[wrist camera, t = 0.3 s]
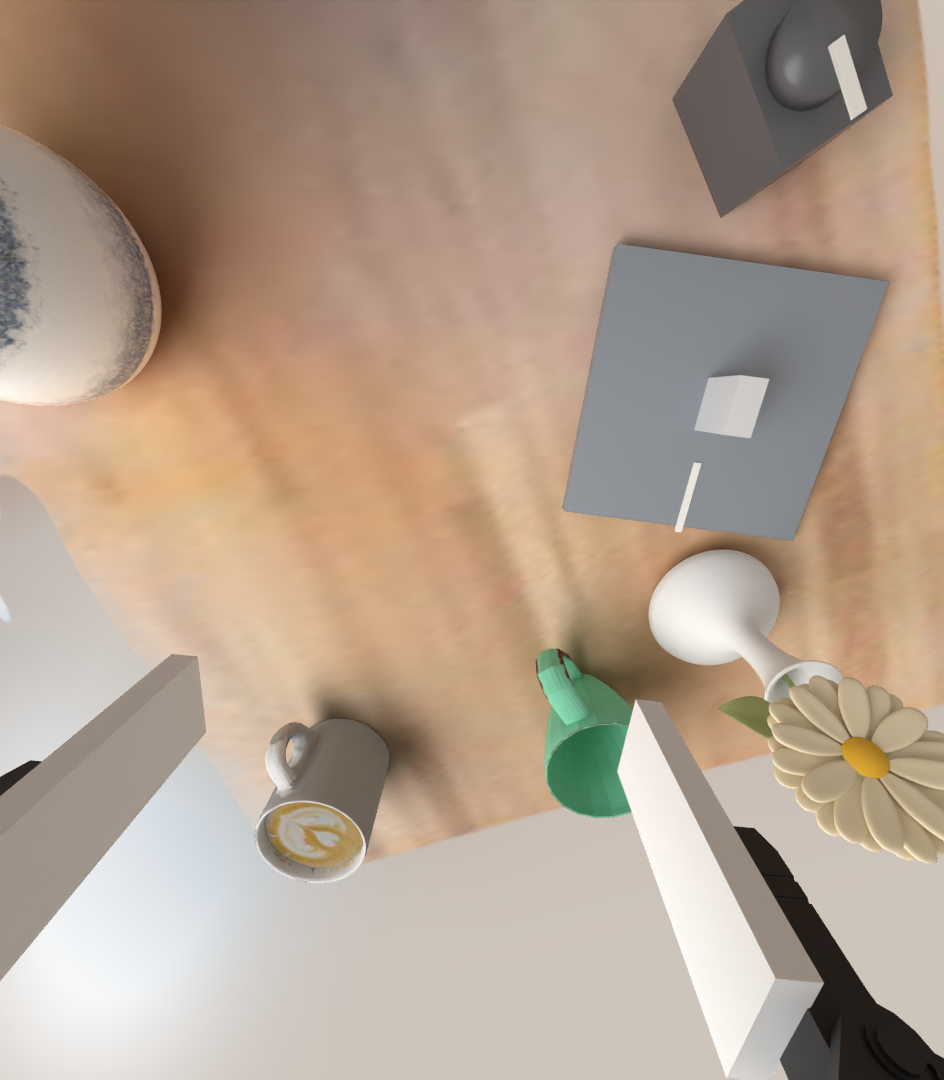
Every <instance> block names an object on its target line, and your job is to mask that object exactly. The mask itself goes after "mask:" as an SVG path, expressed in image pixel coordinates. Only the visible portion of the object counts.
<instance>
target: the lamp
mask: <svg viewBox="0 0 944 1080" xmlns="http://www.w3.org/2000/svg"><path fill="white" fill-rule="evenodd" d="M161 318H162V307H161V296H160V290H159V285H158V281H157V277H156V274H155V271H154V268H153V265H152V262H151V260H150V258H149V255H148V253H147V251H146V249H145V247H144V245H143V243H142V241H141V239H140V238H139V236H138V234H137V233H136V231H135V229H134V228H133V227H132V225H131V224H130V222H129V221H128V219H127V218H126V217H125V215H124V214H123V213H122V211H121V210H120V209H119V208H118V207H117V205H116V204H115V203H114V202H113V201H112V200H111V198H110V197H109V196H108V195H107V194H106V193H105V192H104V191H103V190H102V189H101V188H100V187H99V186H98V185H97V184H96V183H95V182H94V181H93V180H91V179H90V178H89V177H88V176H87V175H86V174H85V173H83V172H82V171H81V170H80V169H79V168H78V167H76V166H75V165H74V164H72V163H71V162H70V161H68V160H67V159H65V158H64V157H62V156H61V155H59V154H58V153H56V152H54V151H53V150H51V149H50V148H48V147H46V146H45V145H43V144H42V143H40V142H38V141H37V140H35V139H33V138H31V137H29V136H27V135H25V134H23V133H21V132H19V131H17V130H15V129H12V128H10V127H8V126H6V125H4V124H1V123H0V400H3V401H8V402H12V403H19V404H28V405H42V406H56V405H70V404H79V403H85V402H89V401H92V400H95V399H98V398H101V397H104V396H106V395H109V394H111V393H113V392H115V391H117V390H118V389H120V388H122V387H123V386H125V385H126V384H127V383H129V382H130V381H131V380H132V379H134V378H135V377H136V376H137V375H138V374H139V373H140V372H141V371H142V369H143V368H144V367H145V365H146V364H147V362H148V361H149V359H150V357H151V355H152V353H153V351H154V349H155V347H156V344H157V341H158V338H159V333H160V328H161Z"/></svg>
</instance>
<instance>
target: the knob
mask: <svg viewBox="0 0 944 1080" xmlns="http://www.w3.org/2000/svg"><path fill="white" fill-rule="evenodd" d="M881 25H882V7H881V2H880V0H744V1H743V2H742V3H740V4H739V5H738V6H736V7H735V8H734V9H732V10H731V11H730V12H729V13H727V14H726V16H725V17H724V19H723V20H722V22H721V23H720V25H719V27H718V28H717V30H716V31H715V33H714V35H713V36H712V38H711V39H710V41H709V42H708V44H707V46H706V47H705V49H704V50H703V52H702V53H701V55H700V57H699V58H698V60H697V61H696V63H695V64H694V66H693V68H692V69H691V71H690V72H689V74H688V75H687V77H686V79H685V80H684V82H683V83H682V85H681V87H680V88H679V90H678V91H677V93H676V94H675V96H674V98H673V102H674V104H675V106H676V109H677V111H678V114H679V116H680V119H681V121H682V124H683V126H684V129H685V131H686V133H687V136H688V138H689V141H690V143H691V146H692V148H693V151H694V153H695V156H696V158H697V161H698V163H699V165H700V168H701V170H702V173H703V175H704V178H705V180H706V183H707V185H708V188H709V190H710V192H711V195H712V197H713V200H714V202H715V205H716V207H717V210H718V212H719V215H720V217H722V216H724V215H725V214H727V213H728V212H730V211H731V210H733V209H734V208H736V207H737V206H738V205H740V204H741V203H743V202H744V201H746V200H747V199H749V198H750V197H752V196H753V195H755V194H756V193H758V192H759V191H760V190H762V189H763V188H765V187H766V186H768V185H769V184H771V183H772V182H774V181H775V180H777V179H778V178H780V177H781V176H782V175H784V174H785V173H787V172H788V171H790V170H791V169H793V168H794V167H796V166H797V165H799V164H800V163H802V162H803V161H804V160H806V159H807V158H809V157H810V156H811V155H813V154H814V153H815V152H817V151H818V150H819V149H821V148H822V147H823V146H825V145H826V144H828V143H829V142H830V141H832V140H833V139H834V138H836V137H837V136H838V135H840V134H841V133H842V132H844V131H845V130H847V129H848V128H849V127H851V126H852V125H853V124H855V123H856V122H857V121H859V120H860V119H861V118H863V117H864V116H866V115H867V114H868V113H870V112H871V111H872V110H874V109H875V108H876V107H878V106H879V105H880V104H882V103H883V102H885V101H886V100H887V99H889V98H890V97H891V96H893V95H892V92H891V88H890V85H889V81H888V78H887V74H886V71H885V67H884V64H883V60H882V57H881V53H880V50H879V46H878V43H877V42H878V39H879V36H880V31H881Z"/></svg>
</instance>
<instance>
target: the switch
mask: <svg viewBox="0 0 944 1080" xmlns="http://www.w3.org/2000/svg"><path fill="white" fill-rule="evenodd" d="M888 285H889V282H888V281H881V280H874V279H867V278H860V277H853V276H846V275H838V274H831V273H824V272H817V271H810V270H803V269H796V268H788V267H781V266H774V265H767V264H760V263H753V262H746V261H738V260H731V259H724V258H717V257H710V256H703V255H696V254H688V253H681V252H674V251H667V250H660V249H653V248H646V247H638V246H631V245H624V244H617V246H616V247H615V248H614V249H613V254H612V259H611V264H610V269H609V274H608V279H607V284H606V289H605V294H604V300H603V305H602V310H601V315H600V320H599V325H598V330H597V335H596V340H595V345H594V350H593V355H592V361H591V366H590V371H589V376H588V381H587V386H586V391H585V396H584V401H583V406H582V411H581V416H580V422H579V427H578V432H577V437H576V442H575V447H574V452H573V457H572V462H571V467H570V472H569V477H568V483H567V488H566V493H565V498H564V503H563V509H564V511H567V512H574V513H582V514H590V515H598V516H605V517H613V518H621V519H628V520H636V521H644V522H651V523H659V524H667V525H674V526H676V527H675V532H682V529H683V527H690V528H697V529H705V530H713V531H721V532H728V533H736V534H744V535H751V536H759V537H767V538H774V539H782V540H790V541H793V539H794V536H795V534H796V531H797V528H798V526H799V523H800V520H801V517H802V515H803V512H804V509H805V507H806V504H807V501H808V499H809V496H810V493H811V491H812V488H813V485H814V483H815V480H816V477H817V475H818V472H819V469H820V467H821V464H822V461H823V459H824V456H825V453H826V451H827V448H828V445H829V443H830V440H831V437H832V435H833V432H834V429H835V427H836V424H837V421H838V419H839V416H840V413H841V410H842V408H843V405H844V402H845V400H846V397H847V394H848V392H849V389H850V386H851V384H852V381H853V378H854V376H855V373H856V370H857V368H858V365H859V362H860V360H861V357H862V354H863V352H864V349H865V346H866V344H867V341H868V338H869V336H870V333H871V330H872V328H873V325H874V322H875V320H876V317H877V314H878V312H879V309H880V306H881V303H882V301H883V298H884V295H885V293H886V290H887V287H888Z"/></svg>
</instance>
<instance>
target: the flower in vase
mask: <svg viewBox="0 0 944 1080" xmlns="http://www.w3.org/2000/svg"><path fill="white" fill-rule="evenodd" d="M779 608H780V595H779V590H778V587H777V585H776V582H775V580H774V578H773V576H772V574H771V573H770V571H769V570H768V569H767V567H766V566H765V565H764V564H763V563H761V562H760V561H759V560H757V559H756V558H754V557H753V556H750V555H748V554H746V553H743V552H740V551H734V550H723V549H721V550H711V551H706V552H702V553H699V554H696V555H694V556H691V557H689V558H687V559H685V560H684V561H682V562H680V563H679V564H677V565H676V566H675V567H673V568H672V569H671V570H670V571H669V572H668V573H667V574H666V575H665V576H664V577H663V578H662V580H661V581H660V582H659V584H658V585H657V587H656V589H655V591H654V593H653V595H652V598H651V601H650V606H649V625H650V628H651V631H652V634H653V636H654V638H655V639H656V641H657V642H658V644H659V645H660V646H661V647H662V648H663V649H664V650H665V651H667V652H668V653H669V654H671V655H673V656H674V657H677V658H679V659H681V660H683V661H686V662H689V663H692V664H698V665H718V664H724V663H728V662H731V661H734V660H736V659H739V658H741V657H743V658H744V659H745V660H746V661H747V662H748V663H749V664H750V665H751V666H752V667H753V669H754V670H755V671H756V673H757V674H758V675H759V677H760V679H761V680H762V682H763V684H764V687H765V697H764V699H762V698H759V697H754V696H748V697H741V698H738V699H735V700H732V701H730V702H728V703H726V704H724V705H722V706H721V707H719V708H718V710H719V711H721V712H722V713H724V714H726V715H728V716H730V717H731V718H733V719H735V720H737V721H738V722H740V723H741V724H743V725H745V726H746V727H748V728H749V729H751V730H752V731H754V732H756V733H757V734H759V735H761V736H763V737H765V738H767V739H768V746H769V748H770V750H771V751H772V755H771V757H772V760H773V762H774V764H775V765H776V768H775V769H774V775H775V777H776V779H777V781H778V782H779V783H780V784H781V785H783V786H784V787H787V788H791V789H797V790H796V794H795V797H796V800H797V802H798V803H799V805H800V806H801V807H802V808H803V809H805V810H806V811H809V812H816V820H817V823H818V825H819V826H820V827H821V829H822V830H824V831H825V832H826V833H827V834H829V835H831V836H839V835H841V836H842V837H843V838H844V839H846V840H847V841H849V842H851V843H854V844H861V845H862V846H863V847H864V848H866V849H867V850H870V851H872V852H879V851H881V850H882V848H884V849H886V850H887V851H890V852H892V853H894V854H895V855H897V856H899V857H900V858H902V859H904V860H914V859H915V858H916V859H918V860H920V861H922V862H924V863H927V864H934V863H936V862H937V859H938V858H937V855H942V854H944V843H943V840H944V734H943V733H940V732H937V731H927V728H928V720H927V717H926V716H925V715H924V714H923V713H922V712H921V711H919V710H917V709H915V708H911V707H906V708H903V704H902V702H901V700H900V699H899V698H898V697H896V696H894V695H892V694H889V693H888V692H887V691H886V690H885V689H883V688H881V687H878V686H869V687H867V688H866V689H865V688H864V686H863V685H862V684H861V683H860V682H859V681H858V680H856V679H854V678H850V677H846V678H844V676H843V674H842V673H841V672H840V670H838V669H837V668H836V667H835V666H833V665H831V664H829V663H825V662H822V661H815V660H809V661H804V660H800V659H797V658H795V657H793V656H791V655H789V654H787V653H786V652H784V651H783V650H781V649H779V648H778V647H777V646H775V645H774V644H773V643H771V642H770V641H769V640H768V639H767V638H766V637H767V636H768V635H769V633H770V632H771V630H772V629H773V627H774V625H775V623H776V620H777V617H778V614H779Z"/></svg>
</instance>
